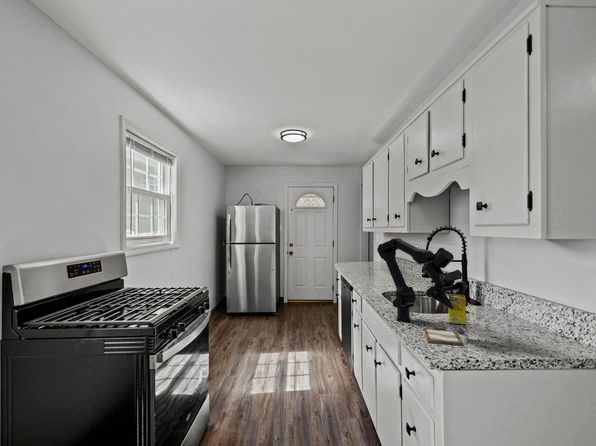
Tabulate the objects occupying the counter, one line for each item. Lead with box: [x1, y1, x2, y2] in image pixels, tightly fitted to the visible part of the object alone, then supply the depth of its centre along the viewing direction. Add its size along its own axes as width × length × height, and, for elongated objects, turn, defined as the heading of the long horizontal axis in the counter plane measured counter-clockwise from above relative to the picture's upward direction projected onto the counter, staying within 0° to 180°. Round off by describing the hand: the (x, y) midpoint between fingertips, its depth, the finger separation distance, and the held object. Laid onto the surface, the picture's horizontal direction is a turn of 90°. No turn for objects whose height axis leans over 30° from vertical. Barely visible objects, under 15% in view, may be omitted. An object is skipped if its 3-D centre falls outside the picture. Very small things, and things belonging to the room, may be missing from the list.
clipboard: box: [423, 326, 463, 346], centre depth 130 cm, size 16×12×2 cm
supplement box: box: [447, 293, 467, 327], centre depth 129 cm, size 6×6×11 cm
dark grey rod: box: [453, 325, 464, 335], centre depth 140 cm, size 13×2×2 cm, turn 164°
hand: (459, 307), depth 128 cm, fingers closed on supplement box, 8 cm apart
